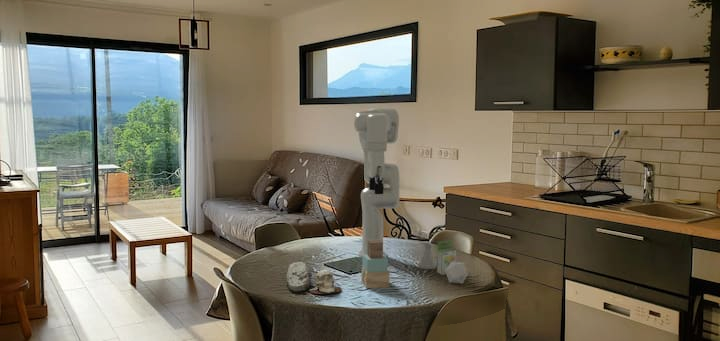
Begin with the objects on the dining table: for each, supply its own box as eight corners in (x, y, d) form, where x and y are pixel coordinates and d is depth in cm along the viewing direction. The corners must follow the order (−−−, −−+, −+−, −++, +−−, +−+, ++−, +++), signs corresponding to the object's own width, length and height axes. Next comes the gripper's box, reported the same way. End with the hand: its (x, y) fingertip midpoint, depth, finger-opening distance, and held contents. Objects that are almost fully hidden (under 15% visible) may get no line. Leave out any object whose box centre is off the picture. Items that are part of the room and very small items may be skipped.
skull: (348, 291, 215) (330, 272, 211) (328, 311, 213) (309, 293, 210) (338, 280, 226) (321, 262, 223) (319, 300, 225) (301, 282, 221)
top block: (362, 266, 229) (362, 254, 229) (382, 265, 231) (382, 253, 231) (367, 272, 222) (367, 259, 221) (387, 271, 224) (387, 258, 223)
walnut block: (367, 254, 228) (367, 239, 228) (380, 254, 229) (380, 239, 228) (370, 258, 223) (370, 242, 223) (382, 257, 224) (383, 242, 224)
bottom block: (361, 281, 231) (361, 266, 230) (383, 280, 232) (383, 265, 232) (366, 288, 222) (366, 273, 221) (389, 287, 224) (389, 271, 223)
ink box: (442, 275, 239) (442, 243, 237) (436, 273, 242) (437, 241, 241) (456, 273, 242) (456, 241, 240) (450, 271, 245) (451, 239, 244)
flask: (435, 270, 247) (435, 247, 246) (417, 269, 248) (418, 246, 247) (436, 266, 254) (437, 243, 253) (419, 264, 255) (420, 242, 254)
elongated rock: (310, 270, 250) (286, 272, 249) (309, 258, 250) (285, 260, 249) (313, 291, 215) (286, 294, 214) (312, 277, 215) (285, 279, 214)
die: (456, 288, 224) (471, 268, 225) (438, 274, 228) (453, 254, 228) (459, 290, 232) (474, 270, 232) (442, 276, 235) (456, 257, 236)
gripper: (362, 145, 229) (362, 188, 231) (371, 149, 213) (371, 196, 215) (381, 145, 231) (380, 188, 233) (391, 149, 214) (391, 195, 216)
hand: (376, 191), depth 224 cm, fingers open, 9 cm apart
